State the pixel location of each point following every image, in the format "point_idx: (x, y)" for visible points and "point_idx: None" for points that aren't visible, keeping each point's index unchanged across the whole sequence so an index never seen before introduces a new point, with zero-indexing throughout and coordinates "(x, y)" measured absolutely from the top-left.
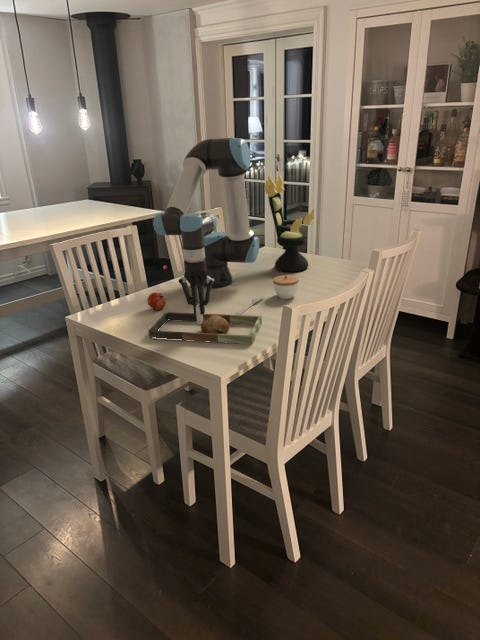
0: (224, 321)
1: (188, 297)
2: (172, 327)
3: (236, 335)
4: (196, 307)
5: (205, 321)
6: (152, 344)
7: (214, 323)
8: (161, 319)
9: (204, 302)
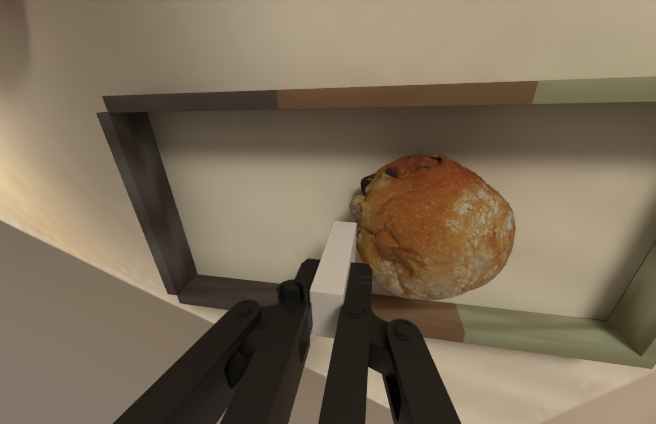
0: (503, 266)
1: (226, 401)
2: (211, 187)
3: (562, 352)
4: (319, 331)
5: (386, 283)
6: (225, 311)
7: (442, 298)
8: (140, 198)
9: (387, 384)
